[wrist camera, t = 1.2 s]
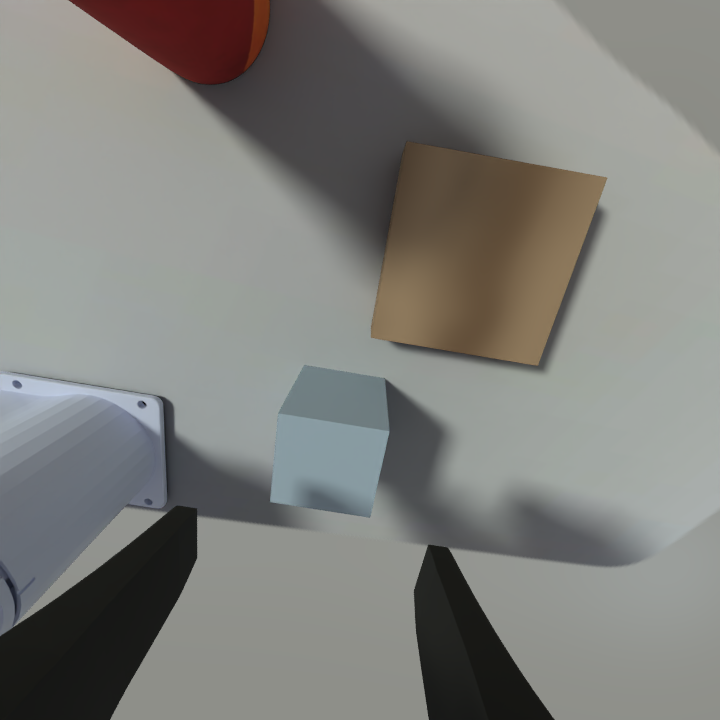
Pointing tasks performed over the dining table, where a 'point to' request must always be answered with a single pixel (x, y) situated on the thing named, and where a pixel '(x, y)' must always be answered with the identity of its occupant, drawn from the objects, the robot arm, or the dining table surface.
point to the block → (331, 442)
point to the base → (480, 252)
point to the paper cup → (189, 33)
